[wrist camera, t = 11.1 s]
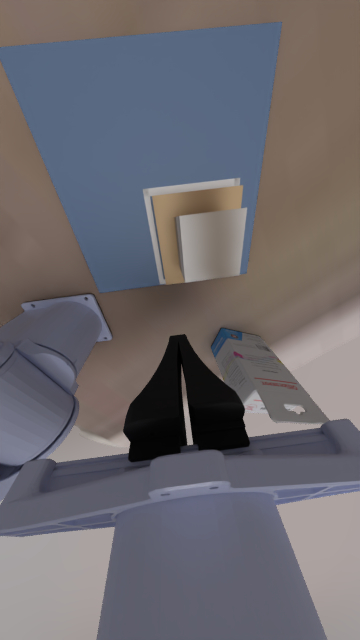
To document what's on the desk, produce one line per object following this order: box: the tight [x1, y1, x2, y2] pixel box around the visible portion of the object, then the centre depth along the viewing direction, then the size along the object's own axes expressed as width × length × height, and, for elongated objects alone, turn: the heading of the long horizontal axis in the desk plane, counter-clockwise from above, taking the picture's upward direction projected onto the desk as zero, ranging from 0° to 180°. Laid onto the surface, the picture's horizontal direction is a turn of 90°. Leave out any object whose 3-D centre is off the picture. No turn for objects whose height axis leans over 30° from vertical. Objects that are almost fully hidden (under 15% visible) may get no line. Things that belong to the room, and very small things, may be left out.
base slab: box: [152, 185, 243, 285], centre depth 17 cm, size 8×8×3 cm
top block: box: [174, 208, 247, 283], centre depth 13 cm, size 4×4×5 cm
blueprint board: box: [0, 22, 282, 293], centre depth 16 cm, size 20×18×1 cm
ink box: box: [211, 328, 330, 424], centre depth 22 cm, size 8×5×15 cm, turn 72°
